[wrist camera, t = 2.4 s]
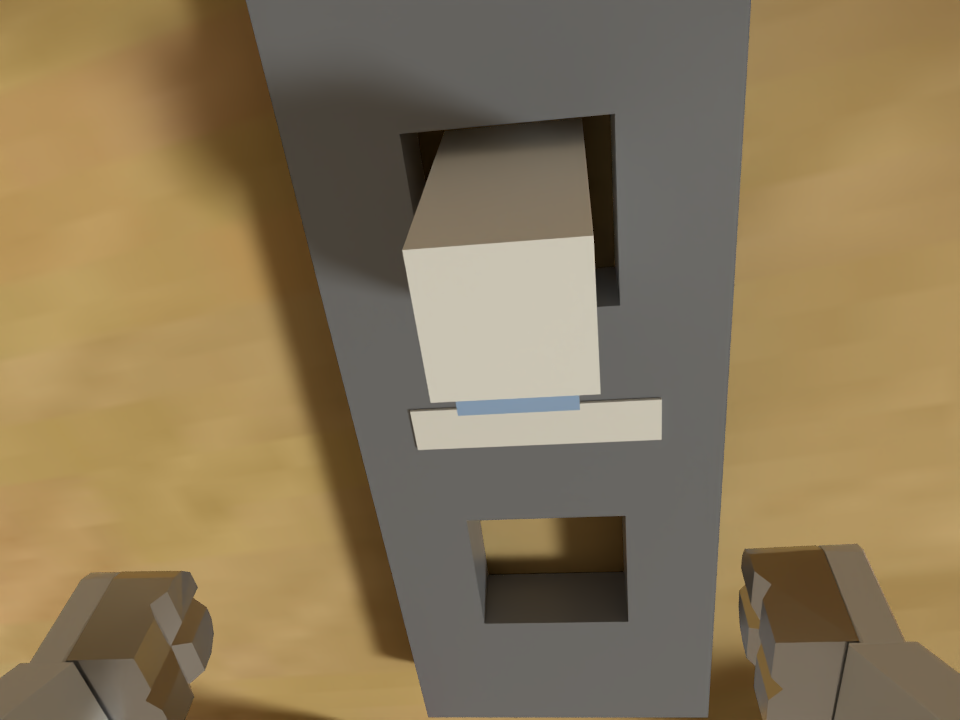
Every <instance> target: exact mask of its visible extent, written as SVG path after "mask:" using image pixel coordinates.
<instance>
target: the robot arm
mask: <svg viewBox="0 0 960 720" xmlns="http://www.w3.org/2000/svg"><path fill="white" fill-rule="evenodd" d="M741 569H742V573H743V577H744V581H745V586H743V587H742V588H741V589H740V590H739V619H740V629H741V635H742V641H743V645H744V649H745V654H746V658H747V659H748V660H749V661H750V662H751V663H753V664H754V665H755V677H754V690H755V694H756V697H757V701H758V705H759V709H760V713H761V717H762V720H960V674H959V673H958V672H957V671H955V670H954V669H953V668H951V667H950V666H949V665H947V664H946V663H945V662H943V661H942V660H941V659H940V658H938V657H937V656H936V655H934V654H933V653H932V652H930V651H929V650H928V649H926V648H925V647H924V646H922V645H921V644H920V643H918V642H905V639H904V637H903V635H902V633H901V631H900V629H899V626H898V624H897V622H896V620H895V618H894V615H893V613H892V611H891V609H890V607H889V605H888V602H887V600H886V598H885V596H884V594H883V592H882V589H881V587H880V585H879V583H878V581H877V578H876V576H875V574H874V572H873V570H872V568H871V565H870V563H869V561H868V559H867V557H866V555H865V552H864V550H863V549H862V548H861V547H860V546H859V545H858V544H842V545H820V546H816V545H815V546H794V547H774V548H753V549H745V550H744V552H743V555H742V564H741ZM197 588H198V587H197V585H196V583H195V581H194V579H193V577H192V575H191V573H190V572H185V571H135V572H97V573H90V574H89V575H87V576H86V577H84V578H83V579H82V580H81V581H80V582H79V584H78V586H77V587H76V589H75V590H74V592H73V594H72V595H71V597H70V598H69V600H68V602H67V603H66V605H65V607H64V608H63V610H62V611H61V613H60V615H59V616H58V618H57V619H56V621H55V623H54V624H53V626H52V627H51V629H50V631H49V632H48V634H47V636H46V637H45V639H44V640H43V642H42V644H41V645H40V647H39V648H38V650H37V652H36V653H35V655H34V656H33V658H32V660H31V661H30V663H20V664H19V665H17V666H16V667H15V668H13V669H12V670H10V671H9V672H8V673H6V674H5V675H4V676H2V677H1V678H0V720H185V718H186V716H187V713H188V711H189V708H190V706H191V703H192V701H193V699H194V695H193V692H192V689H191V686H190V683H191V682H192V681H193V680H194V679H196V678H197V677H198V676H199V675H200V674H201V673H202V672H203V671H205V668H206V666H207V663H208V660H209V658H210V655H211V652H212V643H213V635H214V632H213V625H212V619H211V616H210V614H209V612H208V609H207V607H205V606H204V605H203V604H201V603H200V602H198V601H197V600H195V599H194V598H193V597H194V595H195V592H196V590H197Z"/></svg>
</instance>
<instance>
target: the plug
mask: <svg viewBox="0 0 960 720" xmlns="http://www.w3.org/2000/svg"><path fill="white" fill-rule="evenodd" d="M402 252H403V257H404V263H405V268H406V273H407V279H408V284H409V289H410V295H411V300H412V305H413V311H414V316H415V322H416V327H417V332H418V338H419V343H420V348H421V354H422V359H423V365H424V370H425V375H426V381H427V386H428V391H429V397H430V402H431V403H438V402H456V407H457V413H458V416H466V415H486V414H507V413H528V412H548V411H569V410H580V399H579V395H596V394H601V391H600V368H599V346H598V323H597V301H596V278H595V256H594V235H593V225H592V214H591V204H590V194H589V184H588V174H587V164H586V154H585V144H584V134H583V124H582V118H576V119H565V120H554V121H544V122H533V123H522V124H512V125H501V126H491V127H480V128H469V129H459V130H448V131H444V134H443V137H442V139H441V142H440V145H439V148H438V151H437V154H436V156H435V159H434V162H433V165H432V168H431V170H430V173H429V176H428V179H427V182H426V184H425V187H424V190H423V193H422V196H421V199H420V201H419V204H418V207H417V210H416V213H415V215H414V218H413V221H412V224H411V227H410V230H409V232H408V235H407V238H406V241H405V244H404V246H403V249H402Z"/></svg>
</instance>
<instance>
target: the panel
mask: <svg viewBox="0 0 960 720" xmlns="http://www.w3.org/2000/svg"><path fill="white" fill-rule="evenodd" d="M246 3H247V7H248V11H249V15H250V19H251V23H252V27H253V31H254V35H255V38H256V42H257V46H258V50H259V54H260V58H261V62H262V66H263V70H264V74H265V78H266V82H267V86H268V89H269V93H270V97H271V101H272V105H273V109H274V113H275V117H276V121H277V125H278V129H279V133H280V137H281V141H282V144H283V148H284V152H285V156H286V160H287V164H288V168H289V172H290V176H291V180H292V184H293V188H294V192H295V195H296V199H297V203H298V207H299V211H300V215H301V219H302V223H303V227H304V231H305V235H306V239H307V243H308V246H309V250H310V254H311V258H312V262H313V266H314V270H315V274H316V278H317V282H318V286H319V290H320V294H321V298H322V301H323V305H324V309H325V313H326V317H327V321H328V325H329V329H330V333H331V337H332V341H333V345H334V349H335V352H336V356H337V360H338V364H339V368H340V372H341V376H342V380H343V384H344V388H345V392H346V396H347V400H348V404H349V407H350V411H351V415H352V419H353V423H354V427H355V431H356V435H357V439H358V443H359V447H360V451H361V455H362V458H363V462H364V466H365V470H366V474H367V478H368V482H369V486H370V490H371V494H372V498H373V502H374V506H375V510H376V513H377V517H378V521H379V525H380V529H381V533H382V537H383V541H384V545H385V549H386V553H387V557H388V561H389V564H390V568H391V572H392V576H393V580H394V584H395V588H396V592H397V596H398V600H399V604H400V608H401V612H402V616H403V619H404V623H405V627H406V631H407V635H408V639H409V643H410V647H411V651H412V655H413V659H414V663H415V667H416V670H417V674H418V678H419V682H420V686H421V690H422V694H423V698H424V702H425V706H426V710H427V714H428V717H708V710H709V693H710V676H711V660H712V643H713V626H714V610H715V593H716V576H717V560H718V543H719V526H720V510H721V493H722V476H723V460H724V443H725V426H726V410H727V393H728V376H729V360H730V343H731V326H732V310H733V293H734V276H735V260H736V243H737V226H738V210H739V193H740V176H741V160H742V143H743V126H744V110H745V93H746V76H747V60H748V43H749V26H750V10H751V0H246ZM607 114H610V126H611V159H612V193H613V226H614V260H615V267H602V268H595V278H596V301H597V323H598V346H599V368H600V391H601V394H596V395H579V399H580V410H569V411H548V412H528V413H507V414H486V415H466V416H458V413H457V407H456V402H438V403H431V402H430V397H429V391H428V386H427V381H426V375H425V370H424V365H423V359H422V354H421V348H420V343H419V338H418V332H417V327H416V322H415V316H414V311H413V305H412V300H411V295H410V289H409V284H408V279H407V273H406V268H405V263H404V257H403V252H402V249H403V246H404V244H405V241H406V238H407V235H408V232H409V230H410V227H411V224H412V221H413V218H414V215H415V213H416V210H417V207H418V204H419V201H420V199H421V196H422V193H423V190H424V187H425V184H426V183H425V177H424V170H423V164H422V158H421V152H420V146H419V139H418V133H417V132H426V131H436V130H447V129H458V128H468V127H479V126H490V125H500V124H511V123H522V122H532V121H543V120H554V119H564V118H575V117H586V116H596V115H607ZM600 516H622V527H623V561H624V572H595V573H550V574H504V575H489V574H488V568H487V561H486V555H485V549H484V543H483V537H482V530H481V524H480V520H502V519H535V518H567V517H600Z"/></svg>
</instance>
